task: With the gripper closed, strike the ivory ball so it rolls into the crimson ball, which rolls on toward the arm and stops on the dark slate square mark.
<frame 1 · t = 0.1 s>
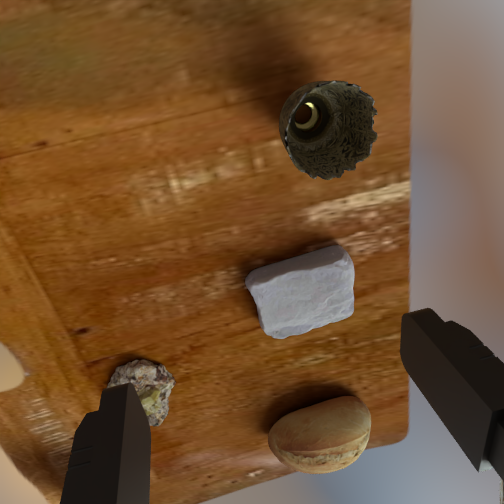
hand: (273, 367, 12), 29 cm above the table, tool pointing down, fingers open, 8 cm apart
bread roll: (313, 411, 59), on the table
cup: (302, 114, 38), on the table
stone block: (299, 287, 48), on the table
mineral rock: (143, 385, 51), on the table
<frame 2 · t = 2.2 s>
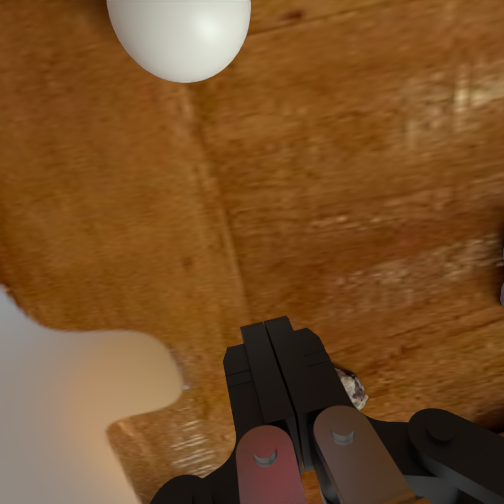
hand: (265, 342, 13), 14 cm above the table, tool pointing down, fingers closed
cue ball: (180, 6, 17), on the table
mineral rock: (320, 402, 37), on the table
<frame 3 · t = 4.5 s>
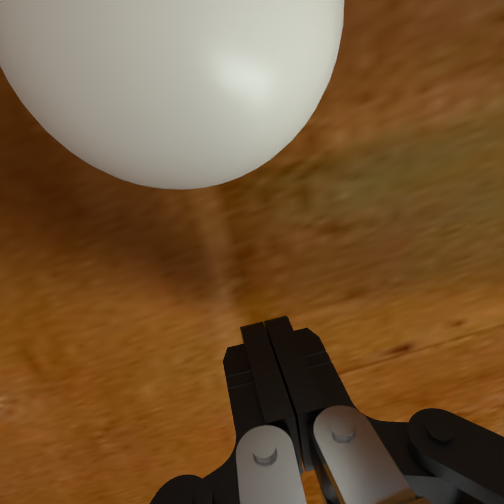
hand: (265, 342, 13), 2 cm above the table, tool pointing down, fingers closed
cue ball: (174, 21, 7), on the table
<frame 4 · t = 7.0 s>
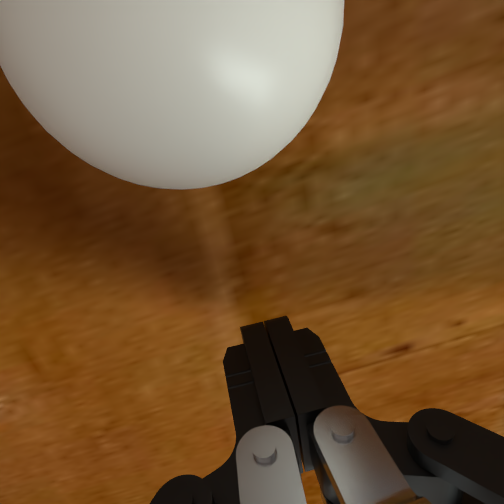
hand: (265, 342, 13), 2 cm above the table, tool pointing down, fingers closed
cue ball: (174, 21, 7), on the table
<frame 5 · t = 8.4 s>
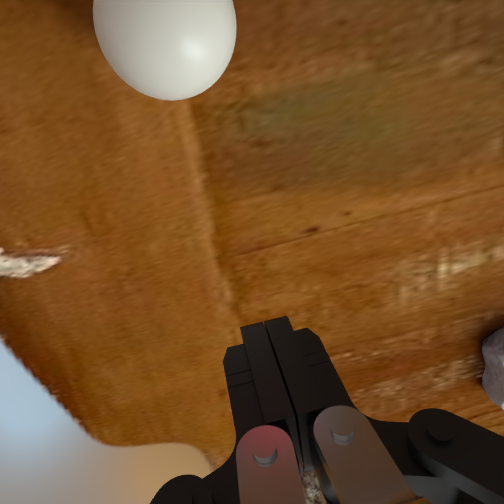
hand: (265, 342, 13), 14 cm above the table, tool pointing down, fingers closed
cue ball: (167, 26, 18), on the table
mineral rock: (315, 486, 43), on the table
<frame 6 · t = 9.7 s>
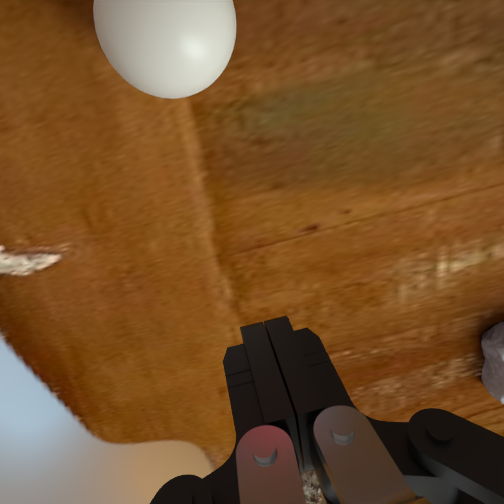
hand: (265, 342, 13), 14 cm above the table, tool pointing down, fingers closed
cue ball: (167, 24, 18), on the table
mineral rock: (311, 484, 43), on the table
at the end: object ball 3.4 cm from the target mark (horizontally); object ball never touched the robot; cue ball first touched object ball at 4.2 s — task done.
